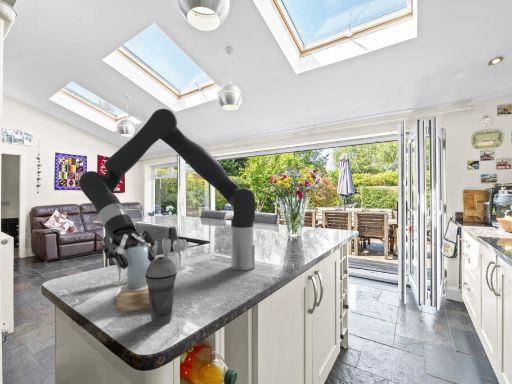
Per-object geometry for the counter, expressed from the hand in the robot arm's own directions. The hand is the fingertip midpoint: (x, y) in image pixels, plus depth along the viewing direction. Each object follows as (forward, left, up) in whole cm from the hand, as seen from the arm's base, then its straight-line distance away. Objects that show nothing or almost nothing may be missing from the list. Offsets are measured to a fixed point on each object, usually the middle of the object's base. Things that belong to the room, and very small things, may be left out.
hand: (140, 263), depth 73 cm
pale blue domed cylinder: (+1, -1, -7) cm, 7 cm away
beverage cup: (-7, +13, -11) cm, 19 cm away
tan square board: (-1, -2, -11) cm, 11 cm away
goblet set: (0, -25, -11) cm, 28 cm away
